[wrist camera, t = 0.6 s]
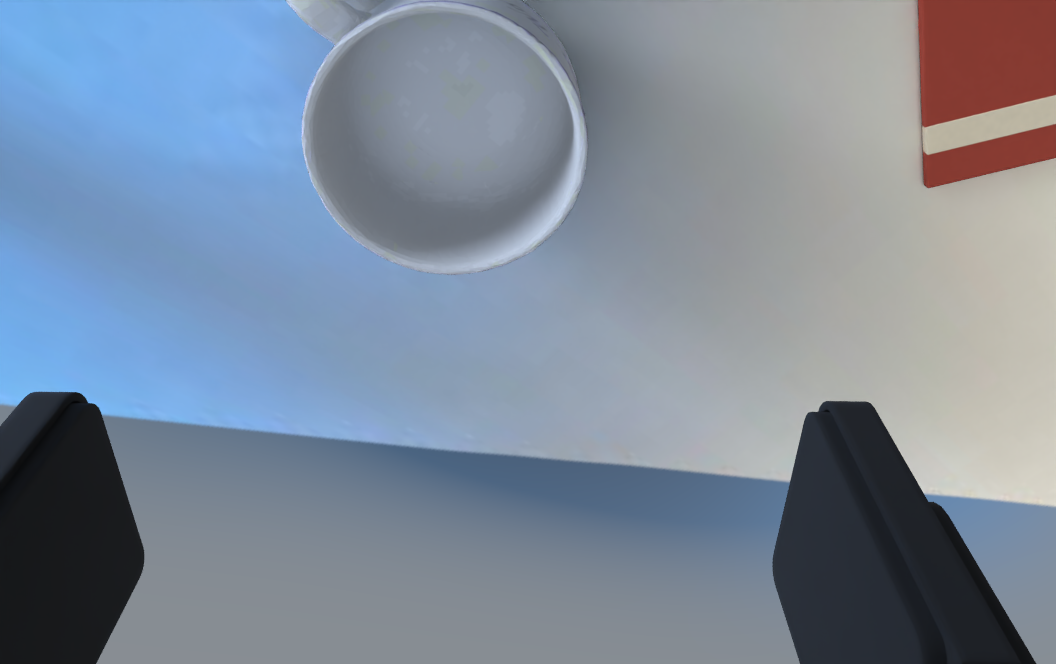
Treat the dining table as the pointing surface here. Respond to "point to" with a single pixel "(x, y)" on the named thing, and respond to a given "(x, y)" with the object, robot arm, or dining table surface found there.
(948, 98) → the towel
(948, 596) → the robot arm
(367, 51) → the teacup
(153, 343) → the dining table surface
